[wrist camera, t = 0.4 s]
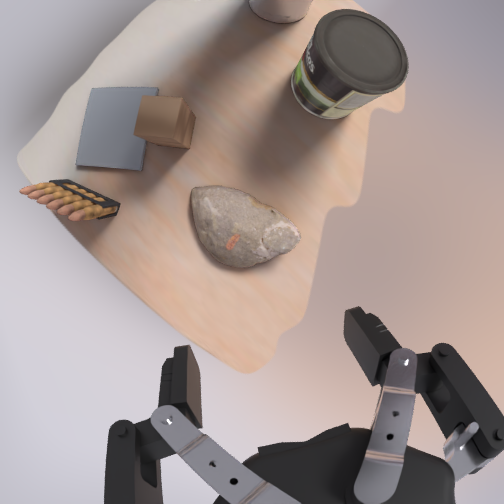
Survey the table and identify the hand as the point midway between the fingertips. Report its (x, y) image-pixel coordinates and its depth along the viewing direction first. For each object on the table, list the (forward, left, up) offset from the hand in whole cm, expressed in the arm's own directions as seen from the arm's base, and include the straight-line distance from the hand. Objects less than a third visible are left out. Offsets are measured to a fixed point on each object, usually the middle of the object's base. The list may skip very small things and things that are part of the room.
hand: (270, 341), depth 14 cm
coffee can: (-24, +6, -26) cm, 36 cm away
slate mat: (-13, -22, -26) cm, 36 cm away
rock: (-1, -3, -26) cm, 26 cm away
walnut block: (-13, -13, -26) cm, 31 cm away
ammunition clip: (-3, -25, -26) cm, 36 cm away
